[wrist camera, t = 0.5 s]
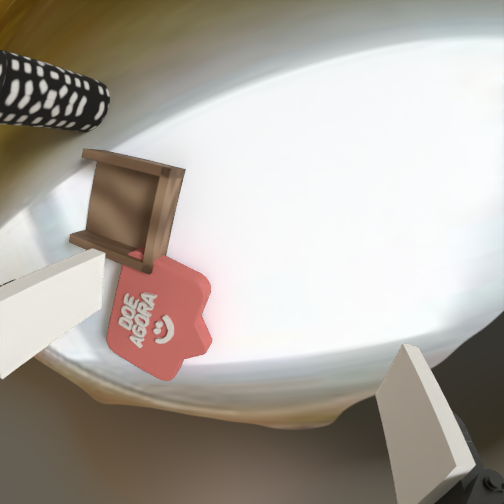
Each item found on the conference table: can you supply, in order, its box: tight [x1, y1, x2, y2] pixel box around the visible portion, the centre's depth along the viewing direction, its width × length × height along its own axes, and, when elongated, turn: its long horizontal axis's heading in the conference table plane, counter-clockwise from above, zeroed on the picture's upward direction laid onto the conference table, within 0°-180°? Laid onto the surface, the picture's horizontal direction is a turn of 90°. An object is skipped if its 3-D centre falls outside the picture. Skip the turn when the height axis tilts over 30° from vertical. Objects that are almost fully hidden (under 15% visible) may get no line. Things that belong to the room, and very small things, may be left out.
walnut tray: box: [69, 149, 186, 275], centre depth 39 cm, size 13×14×4 cm
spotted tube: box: [0, 50, 110, 132], centre depth 29 cm, size 8×8×20 cm
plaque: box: [106, 247, 212, 381], centre depth 41 cm, size 18×4×15 cm
